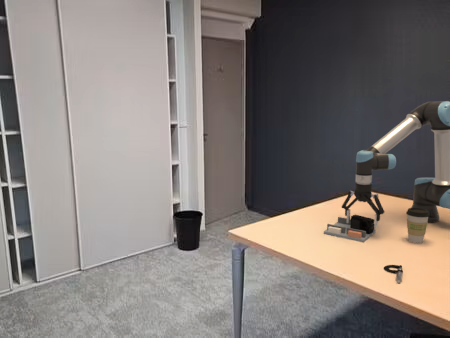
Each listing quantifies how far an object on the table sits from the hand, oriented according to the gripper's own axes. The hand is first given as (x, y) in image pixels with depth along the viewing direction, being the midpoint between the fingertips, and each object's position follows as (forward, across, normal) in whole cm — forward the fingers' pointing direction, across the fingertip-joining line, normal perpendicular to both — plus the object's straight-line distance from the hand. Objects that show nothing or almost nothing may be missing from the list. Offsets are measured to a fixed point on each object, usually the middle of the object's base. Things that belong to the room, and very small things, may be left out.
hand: (361, 224), depth 191 cm
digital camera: (+4, 0, 0) cm, 4 cm away
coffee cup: (+5, +24, +5) cm, 25 cm away
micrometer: (+5, +24, -37) cm, 45 cm away
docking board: (+5, -5, -2) cm, 7 cm away
